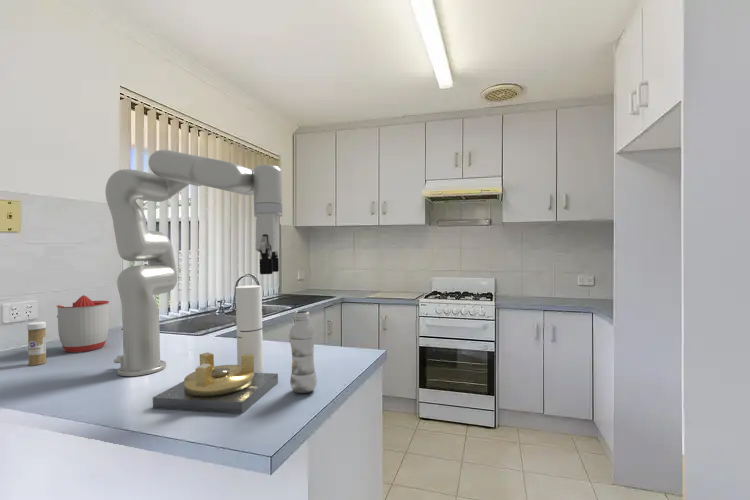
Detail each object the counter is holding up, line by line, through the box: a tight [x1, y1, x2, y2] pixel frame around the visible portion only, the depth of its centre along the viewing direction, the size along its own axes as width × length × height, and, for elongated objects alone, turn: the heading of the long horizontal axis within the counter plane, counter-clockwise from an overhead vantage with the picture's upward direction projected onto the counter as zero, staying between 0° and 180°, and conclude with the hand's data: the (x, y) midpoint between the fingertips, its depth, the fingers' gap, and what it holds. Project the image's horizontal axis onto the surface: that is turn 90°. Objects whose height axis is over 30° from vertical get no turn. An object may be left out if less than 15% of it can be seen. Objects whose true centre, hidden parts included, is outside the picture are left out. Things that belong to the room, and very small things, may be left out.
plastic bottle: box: [288, 310, 318, 394], centre depth 97 cm, size 6×7×20 cm
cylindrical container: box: [235, 284, 264, 373], centre depth 113 cm, size 7×7×25 cm
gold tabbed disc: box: [183, 352, 254, 396], centre depth 96 cm, size 16×16×6 cm
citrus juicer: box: [56, 294, 110, 353], centre depth 143 cm, size 16×17×20 cm
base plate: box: [152, 372, 279, 414], centre depth 96 cm, size 22×19×3 cm
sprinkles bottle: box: [26, 321, 48, 366], centre depth 125 cm, size 5×5×13 cm
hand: (269, 272), depth 107 cm, fingers open, 9 cm apart
